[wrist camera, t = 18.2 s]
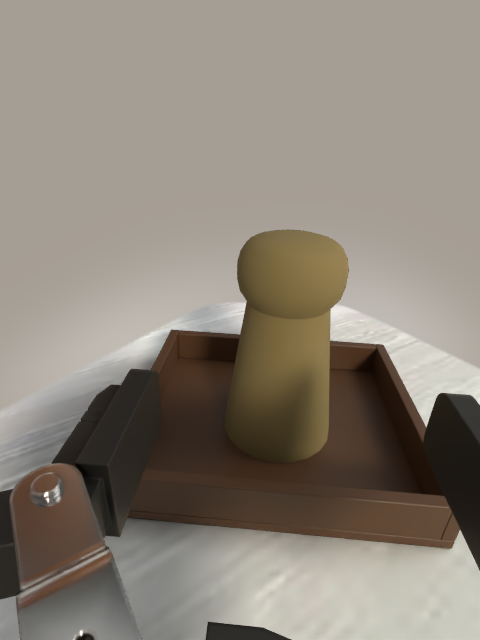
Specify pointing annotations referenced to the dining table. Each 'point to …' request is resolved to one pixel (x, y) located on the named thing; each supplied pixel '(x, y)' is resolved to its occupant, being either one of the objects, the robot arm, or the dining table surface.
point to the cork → (284, 344)
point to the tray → (301, 476)
